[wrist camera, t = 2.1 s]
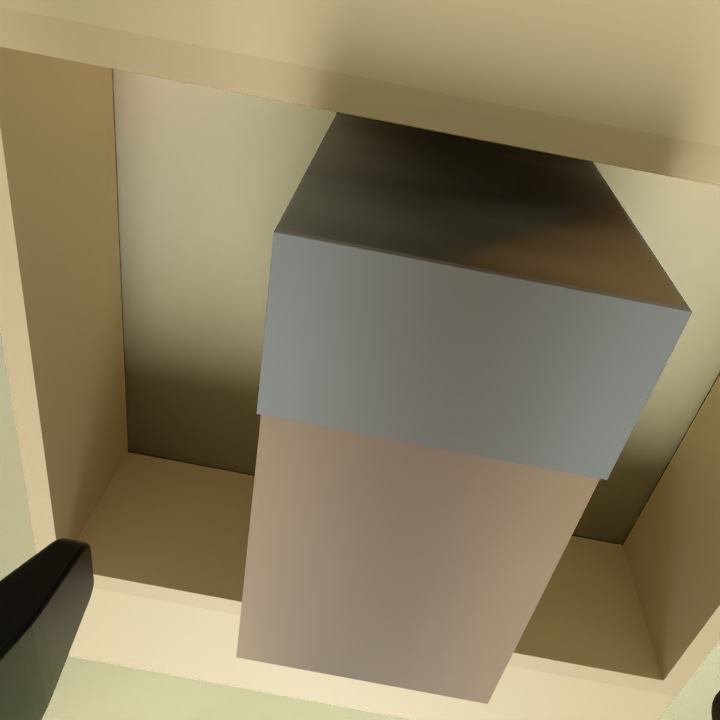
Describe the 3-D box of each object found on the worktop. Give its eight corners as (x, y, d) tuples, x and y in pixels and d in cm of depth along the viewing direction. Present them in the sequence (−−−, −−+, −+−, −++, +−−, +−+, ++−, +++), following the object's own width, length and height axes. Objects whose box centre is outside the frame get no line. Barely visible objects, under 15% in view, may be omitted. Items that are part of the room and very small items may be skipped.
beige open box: (997, -56, 11) (1257, -48, 7) (595, 624, 21) (626, 759, 17) (68, -240, 10) (-105, -318, 7) (115, 533, 20) (52, 653, 17)
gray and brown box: (592, 162, 13) (691, 312, 8) (475, 488, 18) (490, 709, 13) (336, 113, 13) (274, 232, 8) (290, 453, 18) (232, 661, 13)
